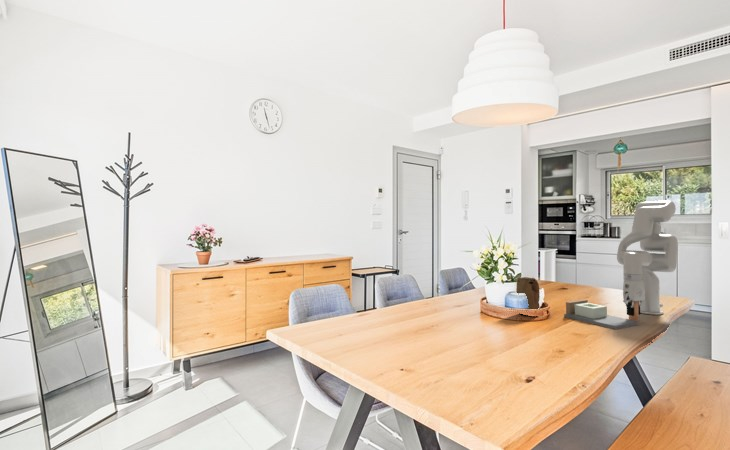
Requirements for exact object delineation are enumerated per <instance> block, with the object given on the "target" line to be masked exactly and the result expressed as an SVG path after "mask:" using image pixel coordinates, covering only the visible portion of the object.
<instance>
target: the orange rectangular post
mask: <svg viewBox="0 0 730 450" xmlns="http://www.w3.org/2000/svg"><path fill="white" fill-rule="evenodd" d="M630 301H632V300H630ZM630 303H631V302H630ZM633 307H634V316H631V315H628V319H629V320H634V321H638V323H639V321H640V319H639V318H640V317H639V316H640V315H639V309H638V301H636V302H634V304H633Z"/></svg>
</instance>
